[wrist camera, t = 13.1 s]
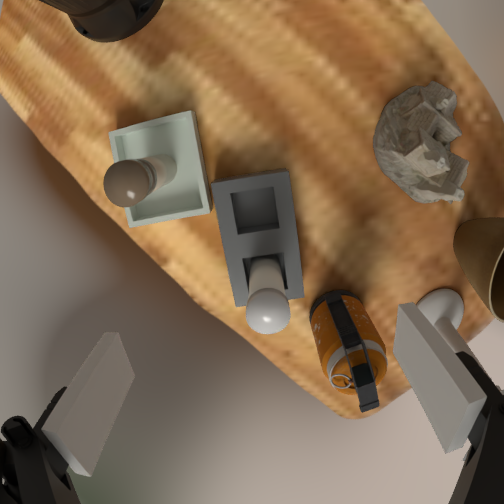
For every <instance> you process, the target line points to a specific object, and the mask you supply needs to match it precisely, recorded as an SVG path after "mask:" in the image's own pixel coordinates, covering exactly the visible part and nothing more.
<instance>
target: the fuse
mask: <svg viewBox="0 0 504 504" xmlns="http://www.w3.org/2000/svg"><path fill="white" fill-rule="evenodd" d="M246 320H247V323H248V324H249V326H250V327H251V328H252V329H253V330H255V331H256V332H259V333H262V334H273V333H277V332H279V331H281V330H282V329H284V328H285V327H286V326H287V324H288V323H289V320H290V308H289V302H288V299H287V297H286V295H285V289H284V284H283V278H282V272H281V267H280V262H279V259H278V258H277V257H276V256H275V255H274V254H269V255H263V256H256V257H253V258H252V260H251V263H250V278H249V299H248V301H247V305H246Z"/></svg>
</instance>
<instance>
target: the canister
mask: <svg viewBox="0 0 504 504" xmlns="http://www.w3.org/2000/svg"><path fill="white" fill-rule="evenodd" d="M309 317H310V324H311V327H312V331H313V335H314V339H315V343H316V347H317V350H318V354H319V358H320V362H321V366H322V370H323V373H324V375H325V376H326V377H327V378H328V379H329V380H330V383H331V385H332V386H333V387H334V388H335V389H336V390H338V391H339V392H341V393H344V394H348V395H356V394H358V398H359V402H360V405H359V407H360V410H361V412H362V413H363V412H365V411H368V410H371V409H374V408H376V407H379V400H378V394H377V389H376V386H377V385H378V384H379V383H380V382H381V381H382V379H383V378H384V376H385V374H386V371H387V365H388V362H387V358H386V356H385V355H386V348H385V344H384V343H383V341H382V339H381V337H380V335H379V334H378V332H377V330H376V328H375V326H374V324H373V323H372V321H371V319H370V317H369V316H368V314H367V312H366V310H365V309H364V307H363V305H362V303H361V302H360V300H359V298H358V297H357V296H356V295H354V294H353V293H351V292H348V291H344V290H336V291H332V292H329V293H326V294H324V295H323V296H321V297H320V298H319V299H318V300H317V301H316V302H315V303H314V305H313V306H312V308H311V311H310V316H309Z"/></svg>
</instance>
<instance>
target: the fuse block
mask: <svg viewBox="0 0 504 504" xmlns="http://www.w3.org/2000/svg"><path fill="white" fill-rule="evenodd" d="M211 187H212V193H213V198H214V203H215V210H216V215H217V220H218V223H219V228H220V233H221V238H222V243H223V248H224V253H225V258H226V262H227V267H228V274H229V279H230V283H231V286H232V291H233V296H234V300H235V305H236V307H241V306H246V305H247V301H248V299H249V278H250V263H251V260H252V258H253V257H256V256H263V255H269V254H274V255H275V256H276V257H277V258H278V259H279V262H280V267H281V272H282V278H283V284H284V289H285V295H286V297H287V299H288V300H290V299H297V298H303V297H304V287H303V278H302V269H301V261H300V252H299V244H298V236H297V228H296V220H295V212H294V205H293V198H292V191H291V183H290V177H289V171H288V170H287V169H286V168H284V169H277V170H270V171H263V172H257V173H250V174H244V175H238V176H232V177H227V178H221V179H215V180H214V181H213V182H212V183H211Z"/></svg>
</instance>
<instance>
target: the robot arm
mask: <svg viewBox="0 0 504 504" xmlns="http://www.w3.org/2000/svg"><path fill="white" fill-rule="evenodd" d="M39 1H41V2H44V3H46V4H48V5H50V6H52V7H54V8H56V9H58V10H60V11H63V12H65V13H67V14H68V16H69V18H70V20H71V22H72V23H73V25H74V27H75V29H76V30H77V31H78V32H79V33H80V34H81V35H83V36H85V37H87V38H89V39H91V40H93V41H97V42H114V41H118V40H121V39H124V38H126V37H129V36H131V35H133V34H134V33H136V32H137V31H139V30H140V29H142V28H143V27H144V26H145V25H146V24H148V23H149V22H150V21H151V19H152V18H153V17H154V16H155V15H156V13H157V12H158V10H159V9H160V7H161V5H162V2H163V0H39ZM393 354H394V355H395V357H396V359H397V361H398V363H399V364H400V366H401V368H402V370H403V372H404V373H405V375H406V377H407V379H408V381H409V383H410V384H411V386H412V388H413V390H414V392H415V394H416V395H417V398H418V399H419V401H420V403H421V405H422V407H423V409H424V411H425V413H426V415H427V417H428V419H429V421H430V423H431V425H432V427H433V429H434V431H435V433H436V435H437V437H438V439H439V441H440V443H441V445H442V447H443V449H444V452H445V454H446V453H448V452H451V451H454V450H456V449H459V448H462V447H463V445H464V443H465V442H466V440H467V438H468V439H469V441H470V443H471V444H472V445H471V446H470V448H469V450H468V452H467V453H466V455H465V457H464V458H463V461H465V463H464V466H463V469H462V471H461V474H460V477H459V479H458V482H457V484H456V487H455V489H454V492H453V495H452V497H451V499H450V501H449V504H504V395H502V394H501V392H500V391H499V390H498V388H497V387H496V386H495V384H494V383H493V382H492V380H491V379H490V378H489V377H488V375H487V374H486V373H484V370H483V369H482V368H481V366H479V364H478V363H477V361H476V360H475V359H474V358H473V357H472V356H471V355H469V354H467V353H466V352H464V351H461V352H458V353H454V352H453V350H452V349H451V348H450V346H449V345H448V344H447V343H446V341H445V340H444V339H443V338H442V336H441V335H440V334H439V333H438V331H437V330H436V329H435V328H434V327H433V325H432V324H431V323H430V322H429V321H428V319H427V318H426V317H425V316H424V315H423V313H422V312H421V311H420V310H419V309H418V307H417V306H416V305H415V304H414V303H413V302H411V303H405V304H399V305H398V315H397V324H396V333H395V341H394V348H393ZM134 377H135V375H134V372H133V370H132V368H131V365H130V363H129V360H128V358H127V355H126V352H125V350H124V347H123V344H122V342H121V339H120V336H119V334H118V332H105V333H104V335H103V336H102V337H101V339H100V340H99V342H98V343H97V344H96V346H95V347H94V349H93V350H92V352H91V353H90V355H89V356H88V357H87V359H86V360H85V362H84V363H83V365H82V366H81V368H80V369H79V371H78V372H77V374H76V375H75V377H74V378H73V380H72V381H71V383H70V384H69V386H68V387H63V388H62V389H61V390H60V391H58V392H57V393H56V394H55V396H54V397H53V399H52V400H51V403H49V405H48V406H47V409H46V410H45V411H44V412H43V414H42V416H41V417H40V419H39V420H38V422H37V423H36V425H35V427H34V428H33V429H32V427H31V426H30V424H29V423H28V422H27V420H26V419H25V418H24V417H22V416H14V417H11V418H10V419H8V420H7V421H6V422H5V423H4V424H3V426H2V427H1V433H2V434H3V436H4V437H5V438H6V440H7V441H2V440H1V439H0V504H81V503H80V501H79V499H78V496H77V494H76V491H75V488H74V486H73V484H72V481H71V478H70V476H69V474H68V473H67V471H66V470H67V468H68V465H69V466H70V467H71V468H72V469H73V471H74V472H75V473H77V474H81V475H85V476H90V477H91V475H92V473H93V470H94V468H95V465H96V463H97V461H98V458H99V456H100V454H101V451H102V449H103V447H104V444H105V442H106V440H107V437H108V435H109V433H110V430H111V428H112V426H113V423H114V421H115V419H116V416H117V414H118V412H119V410H120V408H121V405H122V403H123V401H124V399H125V396H126V394H127V392H128V390H129V387H130V386H131V383H132V381H133V379H134ZM2 478H3V479H4V480H5V482H4V484H2Z"/></svg>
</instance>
